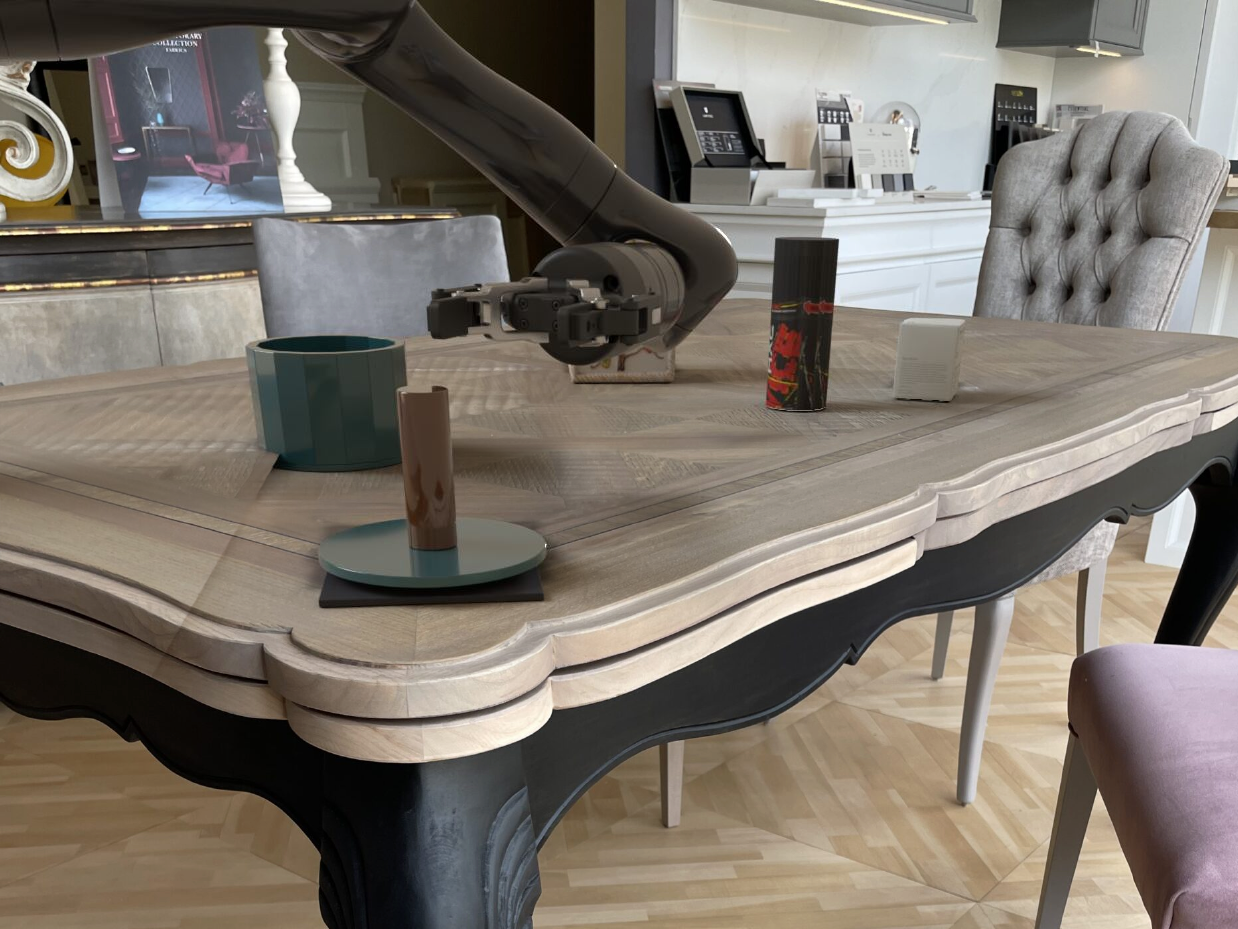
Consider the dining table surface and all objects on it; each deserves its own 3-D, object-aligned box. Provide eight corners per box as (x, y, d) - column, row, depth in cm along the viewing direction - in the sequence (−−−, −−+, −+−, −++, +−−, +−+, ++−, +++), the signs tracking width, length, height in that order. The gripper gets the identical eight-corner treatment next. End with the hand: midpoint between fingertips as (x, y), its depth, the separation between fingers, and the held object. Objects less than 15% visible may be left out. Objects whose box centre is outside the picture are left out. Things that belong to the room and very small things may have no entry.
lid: (273, 583, 69) (249, 399, 64) (393, 527, 80) (379, 366, 75) (485, 610, 65) (475, 416, 60) (581, 548, 76) (579, 379, 71)
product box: (951, 403, 126) (960, 325, 123) (890, 399, 128) (898, 322, 124) (957, 394, 131) (967, 319, 128) (899, 390, 133) (907, 316, 130)
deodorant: (837, 409, 122) (851, 240, 115) (784, 413, 120) (795, 240, 113) (806, 400, 127) (817, 236, 120) (754, 404, 125) (763, 237, 118)
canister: (251, 473, 95) (235, 354, 91) (271, 442, 105) (257, 335, 101) (411, 470, 96) (402, 353, 92) (414, 440, 107) (406, 333, 103)
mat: (319, 607, 66) (318, 600, 66) (336, 547, 77) (335, 541, 77) (543, 600, 68) (543, 593, 68) (531, 542, 78) (530, 536, 78)
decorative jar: (666, 368, 146) (669, 195, 138) (676, 383, 136) (681, 198, 127) (564, 368, 145) (561, 194, 137) (567, 384, 135) (564, 197, 127)
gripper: (506, 239, 88) (388, 251, 75) (697, 246, 84) (608, 259, 71) (509, 353, 92) (398, 383, 79) (693, 364, 88) (608, 398, 74)
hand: (497, 324), depth 75 cm, fingers open, 8 cm apart
